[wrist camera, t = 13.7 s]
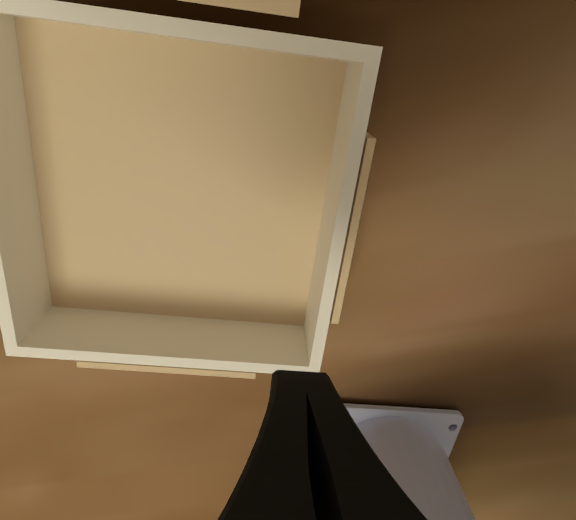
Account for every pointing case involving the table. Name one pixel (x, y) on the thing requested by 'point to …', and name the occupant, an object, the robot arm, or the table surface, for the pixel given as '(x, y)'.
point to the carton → (176, 189)
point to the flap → (258, 5)
